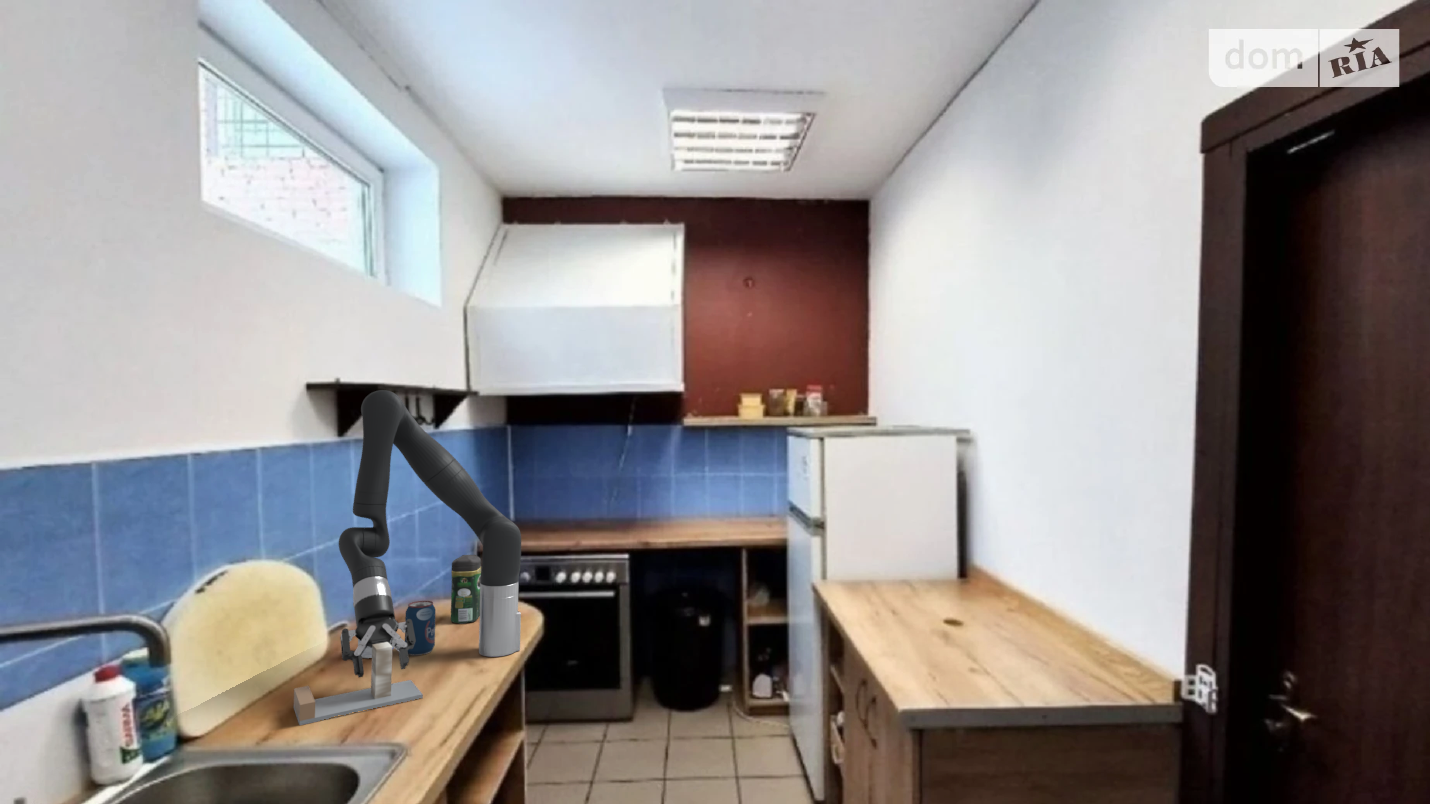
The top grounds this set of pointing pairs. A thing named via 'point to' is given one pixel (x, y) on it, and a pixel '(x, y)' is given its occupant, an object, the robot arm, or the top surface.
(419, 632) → the soda can
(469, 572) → the coffee jar
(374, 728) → the top surface
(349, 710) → the underlay board
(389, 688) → the beige long rectangular block
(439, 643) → the top surface
